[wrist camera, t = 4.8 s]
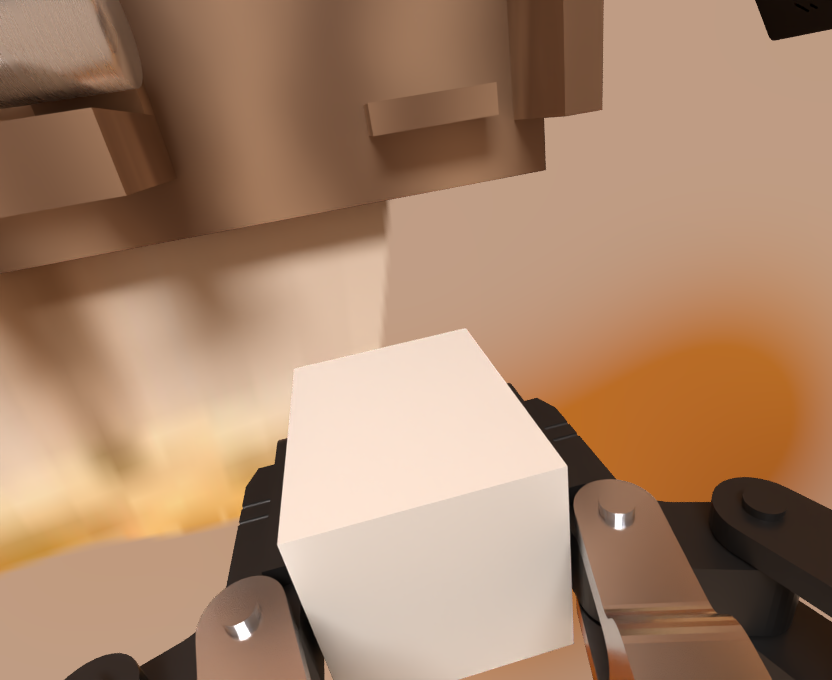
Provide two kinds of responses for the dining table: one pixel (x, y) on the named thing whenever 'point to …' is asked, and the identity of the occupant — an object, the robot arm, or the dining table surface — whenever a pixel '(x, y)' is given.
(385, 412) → the block
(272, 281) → the dining table surface
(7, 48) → the shaft
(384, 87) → the stand
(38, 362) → the dining table surface
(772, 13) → the digital camera
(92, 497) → the dining table surface
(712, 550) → the robot arm
